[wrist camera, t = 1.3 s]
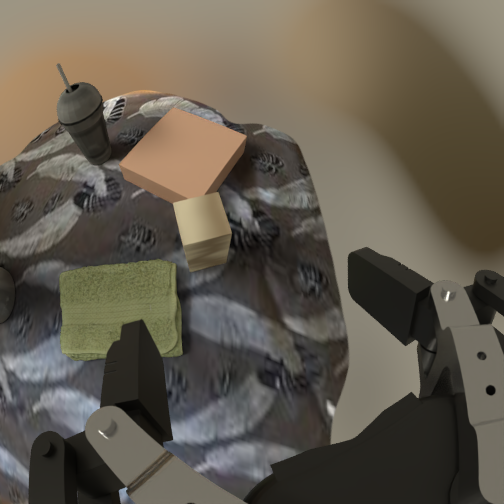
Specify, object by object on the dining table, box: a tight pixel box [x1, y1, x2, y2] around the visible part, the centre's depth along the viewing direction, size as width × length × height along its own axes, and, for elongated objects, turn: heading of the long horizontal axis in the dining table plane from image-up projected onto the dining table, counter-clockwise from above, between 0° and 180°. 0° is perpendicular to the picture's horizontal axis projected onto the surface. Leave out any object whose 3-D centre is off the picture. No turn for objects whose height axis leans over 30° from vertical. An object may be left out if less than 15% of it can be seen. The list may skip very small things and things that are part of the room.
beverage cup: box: [56, 64, 112, 165], centre depth 31 cm, size 7×7×20 cm
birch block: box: [173, 192, 232, 272], centre depth 33 cm, size 5×5×10 cm
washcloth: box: [59, 259, 183, 361], centre depth 32 cm, size 13×18×3 cm
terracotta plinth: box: [119, 107, 247, 204], centre depth 40 cm, size 14×14×4 cm
